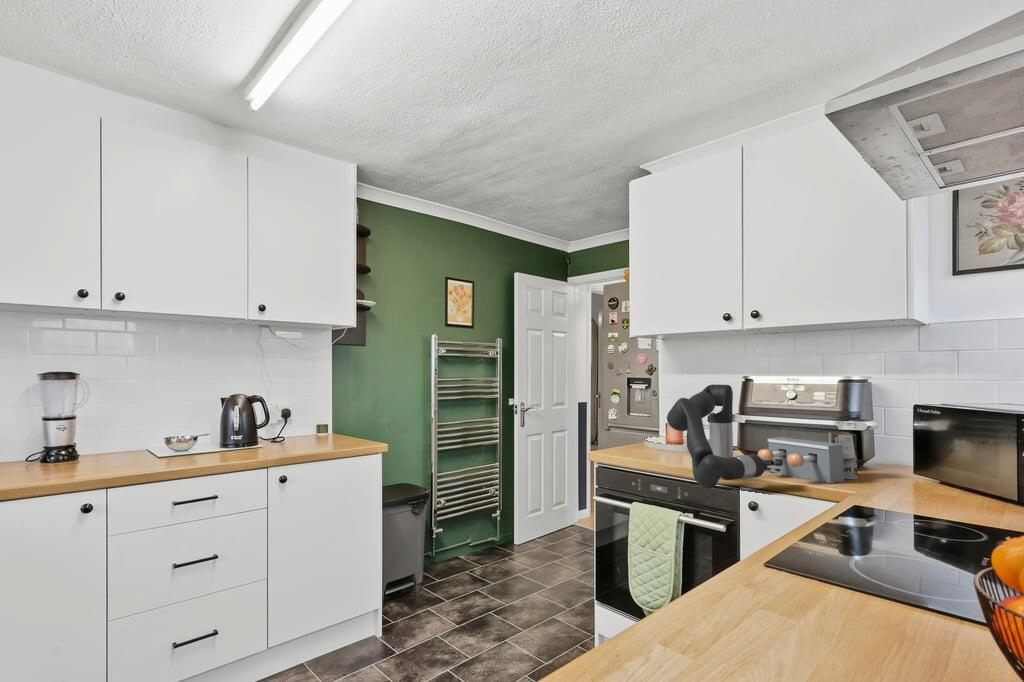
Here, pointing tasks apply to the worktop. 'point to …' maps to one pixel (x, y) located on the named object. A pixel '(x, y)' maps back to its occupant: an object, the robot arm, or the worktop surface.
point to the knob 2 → (799, 459)
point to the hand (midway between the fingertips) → (780, 462)
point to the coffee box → (847, 452)
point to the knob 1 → (770, 454)
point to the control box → (822, 469)
